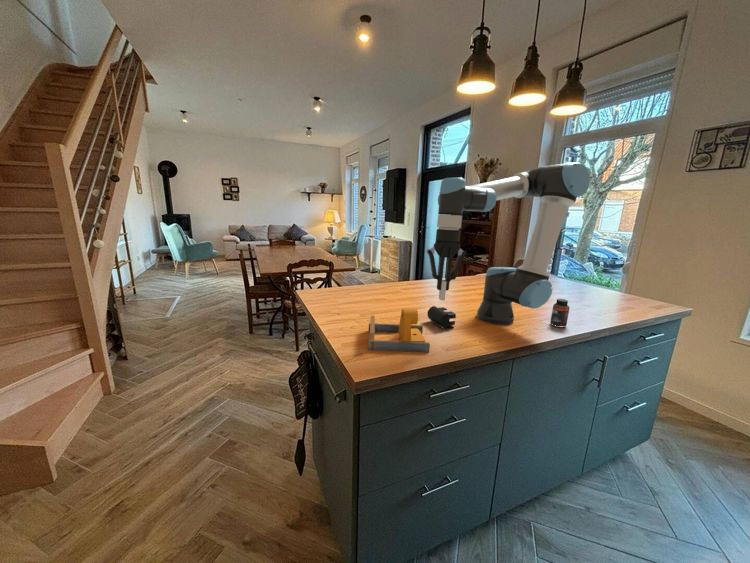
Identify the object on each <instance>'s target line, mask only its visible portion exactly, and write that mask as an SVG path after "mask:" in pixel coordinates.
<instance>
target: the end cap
mask: <svg viewBox="0 0 750 563" xmlns="http://www.w3.org/2000/svg"><path fill="white" fill-rule="evenodd" d="M426 314H427V318H428V319H429V320H430V321H431V322H433V323H434V324H436V325H437V326H439V327H440V328H442V329H444V330H451V329H454V328H455V325H456V321H455V320H451V319H456V318H457V314H456V313H455V312H453V311H448V309H447V307H437V306H436V305H432V306H431V307H429V309H428V310H427V313H426Z"/></svg>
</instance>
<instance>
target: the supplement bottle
mask: <svg viewBox="0 0 750 563" xmlns="http://www.w3.org/2000/svg"><path fill="white" fill-rule="evenodd" d="M569 313H570V306H569V300H567V299H564V298H557V299H556V302H555V303H553V305H552V311H551V314H550V315H551V316H550V321H549V324H550V323H551V324H553V325H556V326H566V327H567V325H568V324H567V323H568V318H569ZM551 324H550V325H551ZM553 325H552V326H553Z"/></svg>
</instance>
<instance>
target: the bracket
mask: <svg viewBox="0 0 750 563" xmlns="http://www.w3.org/2000/svg"><path fill="white" fill-rule="evenodd" d="M399 319H400V320H399V323H398V324H399V332H398V333H397V334H398V336H399V340H400V341H404V342H426V339H425V337H424V336H423V333H422V334H421V332H420V331H419V329H411V325H418V321H419V313H418V309H417V308H402V309H401V312H400V318H399Z"/></svg>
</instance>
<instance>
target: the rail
mask: <svg viewBox="0 0 750 563" xmlns="http://www.w3.org/2000/svg"><path fill="white" fill-rule="evenodd" d="M399 324H400V323H398V324H397V323H396V324H394V323H376V318H375V315H370V321H369V322H368V333H369V339H367V351H381V352H382V351H386V352H387V351H388V352H411V353H415V352H416V353H430V349H431V348H430V345H431V343H430V342H427V341H425V342H404V341H401V340H400V341H398V340H380V339H379V340H378V339H377V340H376V339H375V333H389V334H395V333H396V334H398V332H399ZM423 328H424V326H423V325H421V324H420V325H419V324H411V329H419V331H420V332H421V334H422V335H423Z"/></svg>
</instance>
